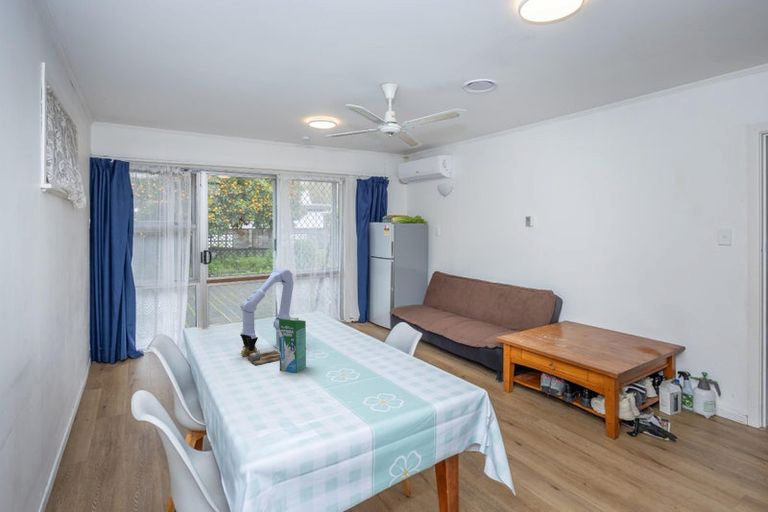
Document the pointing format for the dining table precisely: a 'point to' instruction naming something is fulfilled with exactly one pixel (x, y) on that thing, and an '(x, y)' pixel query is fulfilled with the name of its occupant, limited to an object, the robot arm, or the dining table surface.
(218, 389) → the dining table surface
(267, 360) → the pipe board
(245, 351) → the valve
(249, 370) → the dining table surface
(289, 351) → the milk carton
